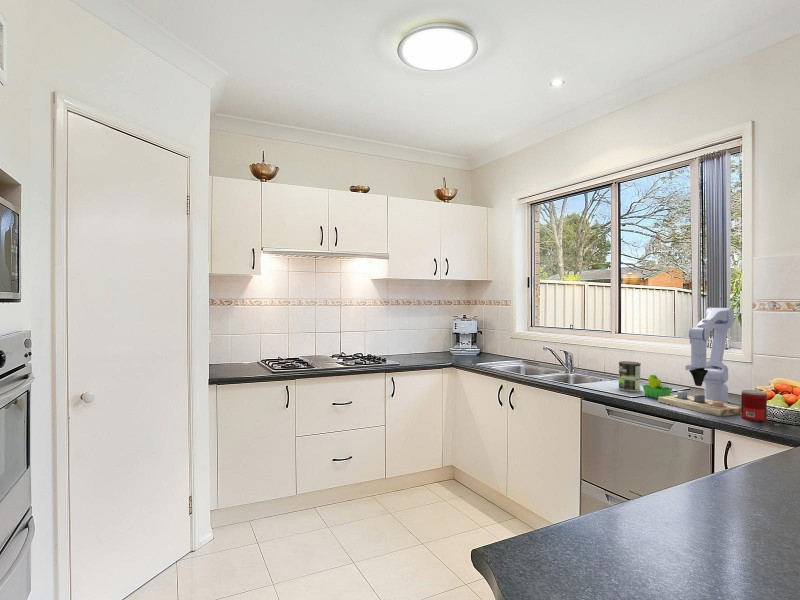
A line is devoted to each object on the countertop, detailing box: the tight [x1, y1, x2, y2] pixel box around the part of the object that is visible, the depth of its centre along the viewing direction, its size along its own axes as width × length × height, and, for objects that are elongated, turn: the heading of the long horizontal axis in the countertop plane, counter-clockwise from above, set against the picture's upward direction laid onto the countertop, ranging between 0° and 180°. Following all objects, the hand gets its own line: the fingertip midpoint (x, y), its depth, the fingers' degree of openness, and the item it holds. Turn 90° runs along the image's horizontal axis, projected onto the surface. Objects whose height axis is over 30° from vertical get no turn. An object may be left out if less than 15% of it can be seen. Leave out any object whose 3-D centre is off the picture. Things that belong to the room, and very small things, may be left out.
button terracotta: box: [712, 401, 724, 408], centre depth 200 cm, size 4×4×4 cm
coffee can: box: [618, 360, 642, 392], centre depth 247 cm, size 10×10×14 cm
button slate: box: [676, 390, 689, 400], centre depth 214 cm, size 4×4×4 cm
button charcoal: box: [693, 393, 705, 404], centre depth 207 cm, size 4×4×4 cm
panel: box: [657, 394, 741, 417], centre depth 207 cm, size 16×28×2 cm, turn 23°
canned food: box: [740, 389, 768, 423], centre depth 187 cm, size 8×8×11 cm
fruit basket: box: [642, 373, 674, 399], centre depth 227 cm, size 11×9×11 cm
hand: (698, 385), depth 207 cm, fingers closed
